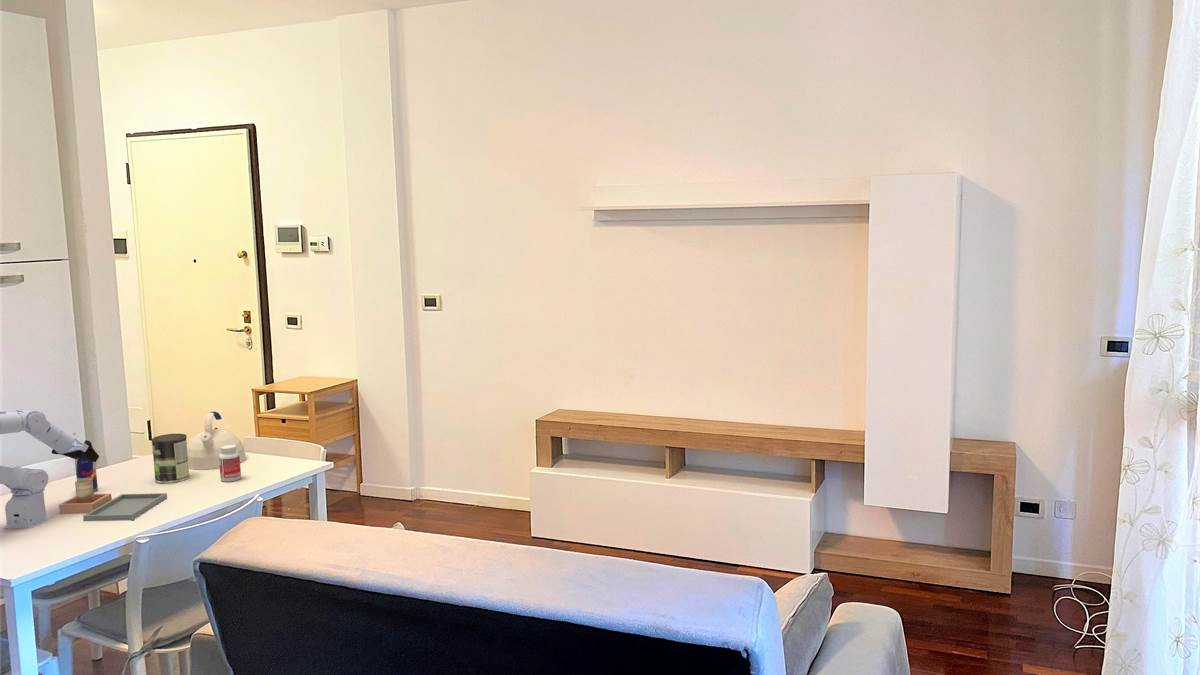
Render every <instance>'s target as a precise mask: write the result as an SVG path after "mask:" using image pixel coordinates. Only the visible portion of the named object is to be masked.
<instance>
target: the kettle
mask: <svg viewBox="0 0 1200 675" xmlns="http://www.w3.org/2000/svg"><path fill="white" fill-rule="evenodd" d="M213 418H215V420H217V421H219V420H222V415H220V413H219V412H217V411H210V412H208V413H207V414H206V416H205V418H204V419H205V420H204V431H202V432H199V433H198V434H196V435H194V436H193V437H192V438H191V439H190V441H189V442H188V443H187V454H188V466H189V470H193V471H197V470H198V471H204V470H205V471H206V470H207V471H208V470H216V469H220V465H219V455H220V454H221V453H222V452H221V447H222V446H226V445H236V448H237V449H236V452H238V453H239V456H240V464H241V463H242V462H244V461H245V460H246V459H247V457H246V451H245V447H244V445H243V442H242V441H241V439H240V438H238V437H237V435H235V434H234V433H232V432H230V431H229V430H227V429H220V428H218V427H214V428H213V420H214V419H213Z"/></svg>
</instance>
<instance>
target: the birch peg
mask: <svg viewBox="0 0 1200 675" xmlns="http://www.w3.org/2000/svg"><path fill="white" fill-rule="evenodd" d="M74 486H75V496H76V497H77V503H92V502H94V501H95V499H94V494H95V492H94V489H93V480H92V479H83V480H79V481H77V480H76V481H74Z"/></svg>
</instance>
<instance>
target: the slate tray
mask: <svg viewBox="0 0 1200 675" xmlns="http://www.w3.org/2000/svg"><path fill="white" fill-rule="evenodd" d="M167 499H168V493H167V492H163V493H162V492H161V493H160V492H159V493H157V492H155V493H154V492H153V493H152V492H151V493H150V492H149V493H121V494H119V495H118V496H116V497H115V498H112V500H111V501H109V502H107V503H105V504H103V505H102V506H100V507H98V508H96V509H95V510H93V511H91V512H89V513H85V515H82V519H83V522H94V521H95V522H96V521H98V522H99V521H102V522H103V521H105V522H106V521H131V522H134V519H135V518H136V519H137V517H138V516H140V515H141V514H143V513H144V514H145V512H146V511H147V512H148V510H149V509H151V508H152V507H154V506H155V507H156V505H157V506H158V505H159V503H160V504H161V502H162V503H163V502H165V501H166V500H167ZM164 500H165V501H164ZM152 509H153V508H152ZM149 511H150V510H149ZM141 516H142V515H141ZM138 518H139V517H138Z"/></svg>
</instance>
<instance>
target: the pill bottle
mask: <svg viewBox="0 0 1200 675" xmlns="http://www.w3.org/2000/svg"><path fill="white" fill-rule="evenodd" d="M236 449H237V448H236V445H226V446H222V447H221V452H222V453H221V454H220V455H219V465H220V468H219V472H220V473H219V474H220V475H219V476H220V481H221V482H224V483H225V482H226V483H227V482H229V483H231V482H235V481H238V480H240V479H241V478H242V471H241V463H240V456H239V453H238V452H236Z"/></svg>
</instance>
